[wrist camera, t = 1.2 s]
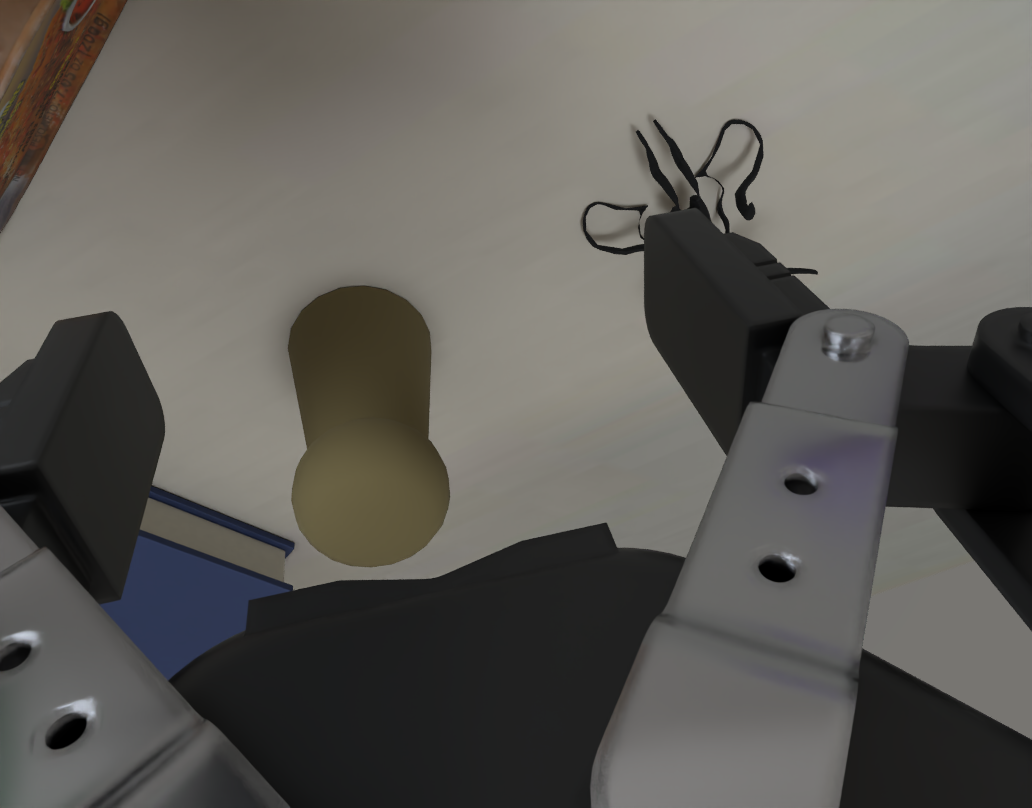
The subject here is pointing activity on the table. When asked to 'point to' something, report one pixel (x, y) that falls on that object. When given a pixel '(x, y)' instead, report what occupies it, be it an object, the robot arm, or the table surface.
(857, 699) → the robot arm
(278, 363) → the table surface
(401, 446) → the cork
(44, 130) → the tin
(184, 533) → the book
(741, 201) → the creature
